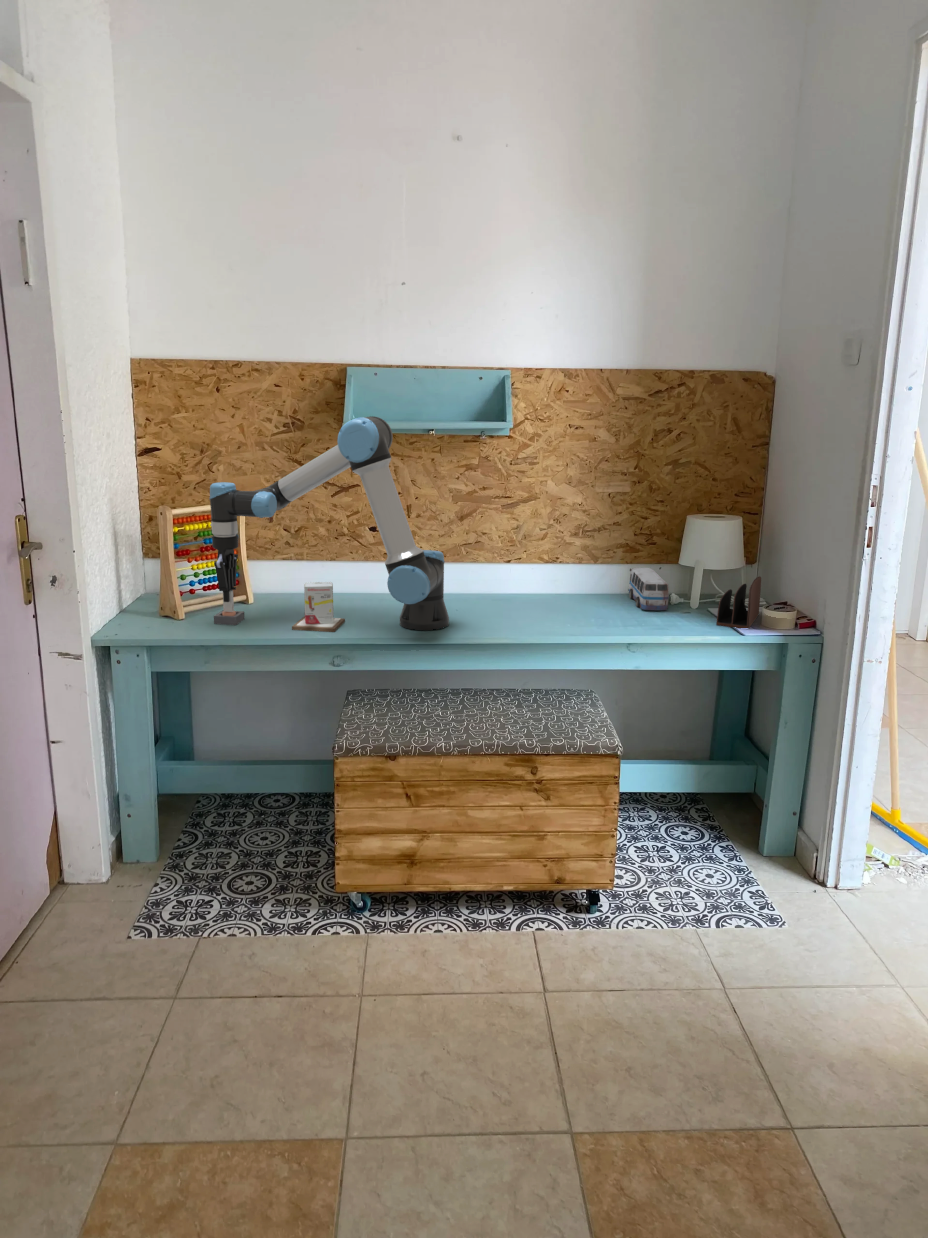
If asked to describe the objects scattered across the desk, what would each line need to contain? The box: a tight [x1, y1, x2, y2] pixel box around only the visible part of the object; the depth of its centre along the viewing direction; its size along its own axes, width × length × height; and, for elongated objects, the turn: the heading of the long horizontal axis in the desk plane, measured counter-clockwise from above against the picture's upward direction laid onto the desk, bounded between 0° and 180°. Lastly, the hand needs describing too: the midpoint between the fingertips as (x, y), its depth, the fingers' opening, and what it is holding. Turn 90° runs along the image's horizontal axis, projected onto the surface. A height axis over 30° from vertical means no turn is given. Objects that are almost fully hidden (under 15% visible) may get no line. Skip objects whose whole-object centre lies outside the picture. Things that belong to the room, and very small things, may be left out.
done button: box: [222, 610, 237, 616], centre depth 279 cm, size 4×4×2 cm
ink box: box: [303, 581, 335, 624], centre depth 275 cm, size 9×5×12 cm, turn 100°
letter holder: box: [715, 575, 762, 629], centre depth 289 cm, size 10×20×14 cm, turn 154°
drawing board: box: [291, 615, 346, 633], centre depth 276 cm, size 13×12×1 cm
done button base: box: [213, 609, 246, 626], centre depth 279 cm, size 7×7×2 cm
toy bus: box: [627, 567, 670, 611], centre depth 311 cm, size 10×27×10 cm, turn 1°
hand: (228, 611), depth 278 cm, fingers closed
